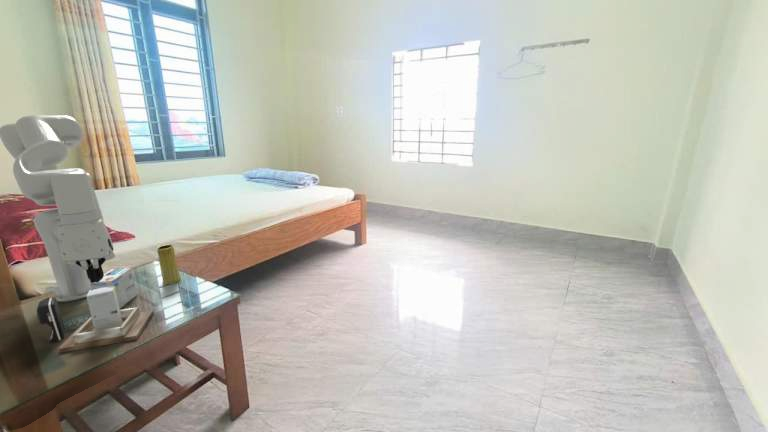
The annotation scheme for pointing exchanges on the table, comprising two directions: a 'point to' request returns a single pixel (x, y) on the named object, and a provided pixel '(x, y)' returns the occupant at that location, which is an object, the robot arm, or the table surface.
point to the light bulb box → (118, 284)
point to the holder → (108, 331)
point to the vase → (168, 264)
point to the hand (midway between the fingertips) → (97, 280)
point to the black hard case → (51, 318)
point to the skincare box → (104, 308)
